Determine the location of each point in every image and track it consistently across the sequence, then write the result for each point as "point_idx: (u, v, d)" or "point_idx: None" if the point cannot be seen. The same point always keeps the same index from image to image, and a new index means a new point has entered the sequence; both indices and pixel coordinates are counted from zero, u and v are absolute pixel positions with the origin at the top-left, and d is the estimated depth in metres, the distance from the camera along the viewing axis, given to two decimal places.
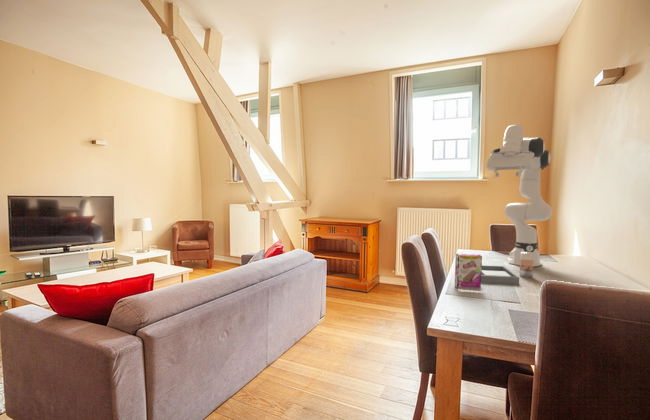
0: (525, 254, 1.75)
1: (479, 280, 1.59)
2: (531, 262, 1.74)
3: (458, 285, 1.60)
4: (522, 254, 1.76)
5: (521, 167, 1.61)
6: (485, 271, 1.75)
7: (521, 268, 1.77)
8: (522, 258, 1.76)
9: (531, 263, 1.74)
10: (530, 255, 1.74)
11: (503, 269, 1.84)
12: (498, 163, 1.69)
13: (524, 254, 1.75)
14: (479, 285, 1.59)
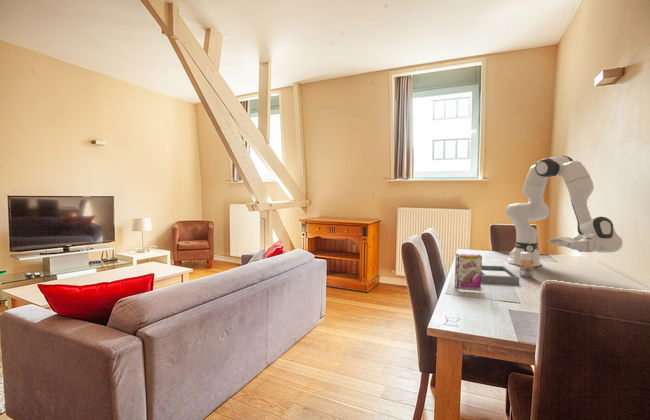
0: (525, 254, 1.75)
1: (479, 280, 1.59)
2: (531, 262, 1.74)
3: (458, 285, 1.60)
4: (522, 254, 1.76)
5: (556, 243, 1.79)
6: (485, 271, 1.75)
7: (521, 268, 1.77)
8: (522, 258, 1.76)
9: (531, 263, 1.74)
10: (530, 255, 1.74)
11: (503, 269, 1.84)
12: None
13: (524, 254, 1.75)
14: (479, 285, 1.59)
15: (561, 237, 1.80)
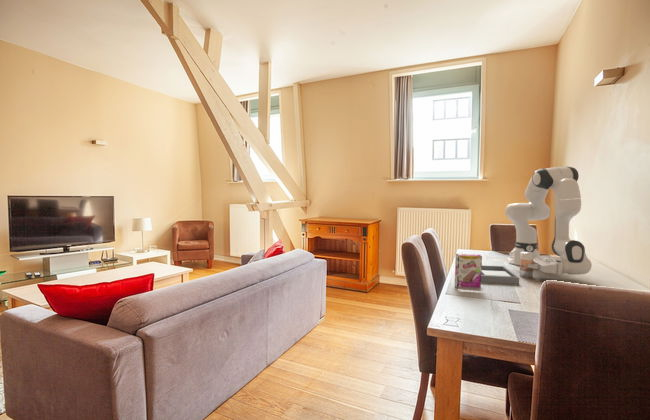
0: (525, 254, 1.75)
1: (479, 280, 1.59)
2: (531, 262, 1.74)
3: (458, 285, 1.60)
4: (522, 254, 1.76)
5: None
6: (485, 271, 1.75)
7: (521, 268, 1.77)
8: (522, 258, 1.76)
9: (531, 263, 1.74)
10: (530, 255, 1.74)
11: (503, 269, 1.84)
12: None
13: (524, 254, 1.75)
14: (479, 285, 1.59)
15: (534, 258, 1.83)
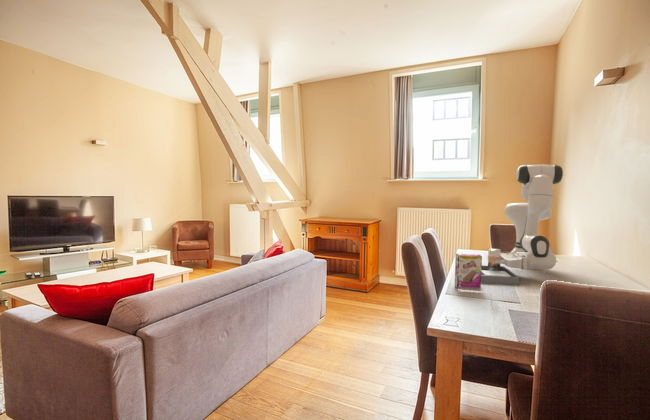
0: (492, 251, 1.78)
1: (479, 280, 1.59)
2: (498, 259, 1.78)
3: (458, 285, 1.60)
4: (489, 251, 1.80)
5: None
6: (485, 271, 1.75)
7: (489, 265, 1.80)
8: (489, 255, 1.80)
9: None
10: (497, 252, 1.77)
11: (503, 269, 1.84)
12: None
13: (491, 251, 1.79)
14: (479, 285, 1.59)
15: (502, 253, 1.86)
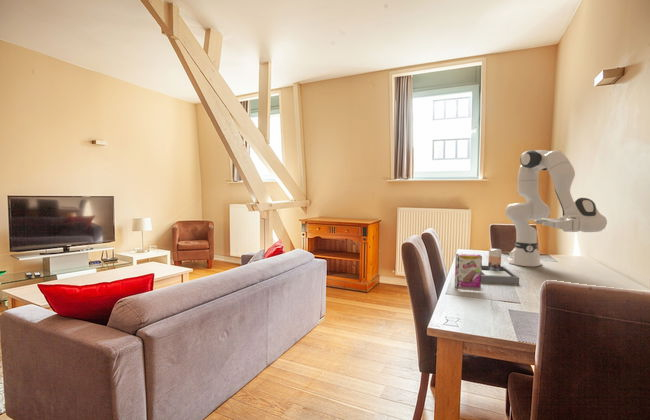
0: (493, 251, 1.78)
1: (479, 280, 1.59)
2: (499, 259, 1.78)
3: (458, 285, 1.60)
4: (490, 251, 1.79)
5: None
6: (485, 271, 1.75)
7: (489, 265, 1.80)
8: (490, 255, 1.80)
9: (499, 260, 1.78)
10: (498, 252, 1.77)
11: (503, 269, 1.84)
12: None
13: (492, 251, 1.78)
14: (479, 285, 1.59)
15: (547, 218, 1.80)
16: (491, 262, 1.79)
